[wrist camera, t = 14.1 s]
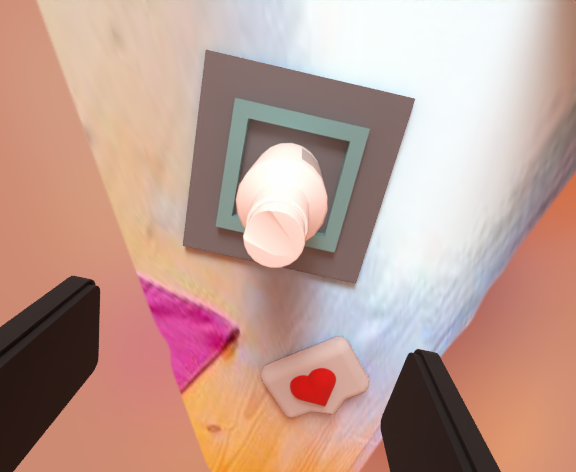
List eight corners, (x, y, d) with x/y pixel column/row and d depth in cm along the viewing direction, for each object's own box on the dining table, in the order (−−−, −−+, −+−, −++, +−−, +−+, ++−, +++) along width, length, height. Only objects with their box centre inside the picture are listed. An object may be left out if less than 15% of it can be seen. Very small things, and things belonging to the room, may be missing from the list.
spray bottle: (289, 221, 38) (278, 315, 21) (241, 177, 36) (187, 242, 19) (334, 174, 36) (363, 238, 19) (285, 127, 34) (268, 150, 17)
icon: (292, 443, 45) (254, 388, 42) (293, 415, 49) (258, 363, 46) (382, 412, 42) (347, 351, 39) (375, 386, 46) (343, 328, 43)
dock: (412, 98, 34) (418, 98, 32) (354, 279, 41) (357, 287, 39) (208, 50, 33) (202, 48, 31) (185, 243, 40) (179, 249, 38)
